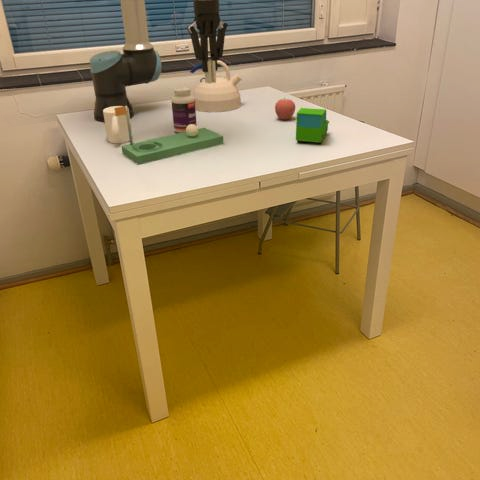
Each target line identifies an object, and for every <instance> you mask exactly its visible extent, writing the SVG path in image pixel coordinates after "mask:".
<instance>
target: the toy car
mask: <svg viewBox="0 0 480 480" xmlns="http://www.w3.org/2000/svg"><path fill="white" fill-rule="evenodd" d="M295 124H296V127H295V141H297V142H298V143H301V142H308V143H309V142H311V143H313V142H314V143H317V144H319V145H320V144H323V140H324V138H326V137H327V133H328V131H329V124H330V121H329V119H327V109H323V108H322V109H321V108H311V107H310V108H307V107H300V109H299V110H298V111H297V112H296V123H295Z"/></svg>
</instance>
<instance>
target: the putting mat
mask: <svg viewBox="0 0 480 480" xmlns="http://www.w3.org/2000/svg"><path fill="white" fill-rule="evenodd" d="M223 144H224V135H222V134H219V133H218V132H215V131H213V130H211V129H210V128H206V127H199V128H198V133H197V135H196V136H194V137H190V136H188V135H187V133H186V132H182V133H178V132H176V133H173V134H169V135H164V136H160V137H159V136H158V137H155V138H150V139H146V140H142V141H137V142H133V145H130V143H127V144H123V145H121V152H122V154H123V155H124V156H125V157H126V158H128V159H129V160H131V161H132V162H134V163H135V164H137V165H142V164H147V163H151V162H154V161H158V160H162V159H167V158H171V157H175V156H179V155H183V154H187V153H191V152H195V151H199V150H203V149H207V148H211V147H214V146H219V145H223Z"/></svg>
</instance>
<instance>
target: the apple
mask: <svg viewBox="0 0 480 480" xmlns="http://www.w3.org/2000/svg"><path fill="white" fill-rule="evenodd" d="M295 104H296V103H295V102H294V101H293V100H291V99H289V98H285V97H284V98H282V99H278V101H276V103H275V106H274V111H275V114H276V116H277V118H279V119H281V120H283V121H285V120H290V119H291V118H292V117H293V116H294V114H295V112H296V105H295Z"/></svg>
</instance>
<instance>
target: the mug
mask: <svg viewBox="0 0 480 480" xmlns="http://www.w3.org/2000/svg"><path fill="white" fill-rule="evenodd" d="M117 107H123V106H113V107H108V108H105V109H104V110H103V114H104V120H105V122H104V126H105V131H106V138H107V142H108V143H112V144H125V143H128V142H130V139H129V132H128V126H127V119H126V115H121V116H116V115H115V109H114V108H117ZM128 114H129V109H128ZM129 121H130V128H131V135H132V140H134V139H133V138H134V137H133V130H132V124H131V123H132V122H131V118H130V115H129Z"/></svg>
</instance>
